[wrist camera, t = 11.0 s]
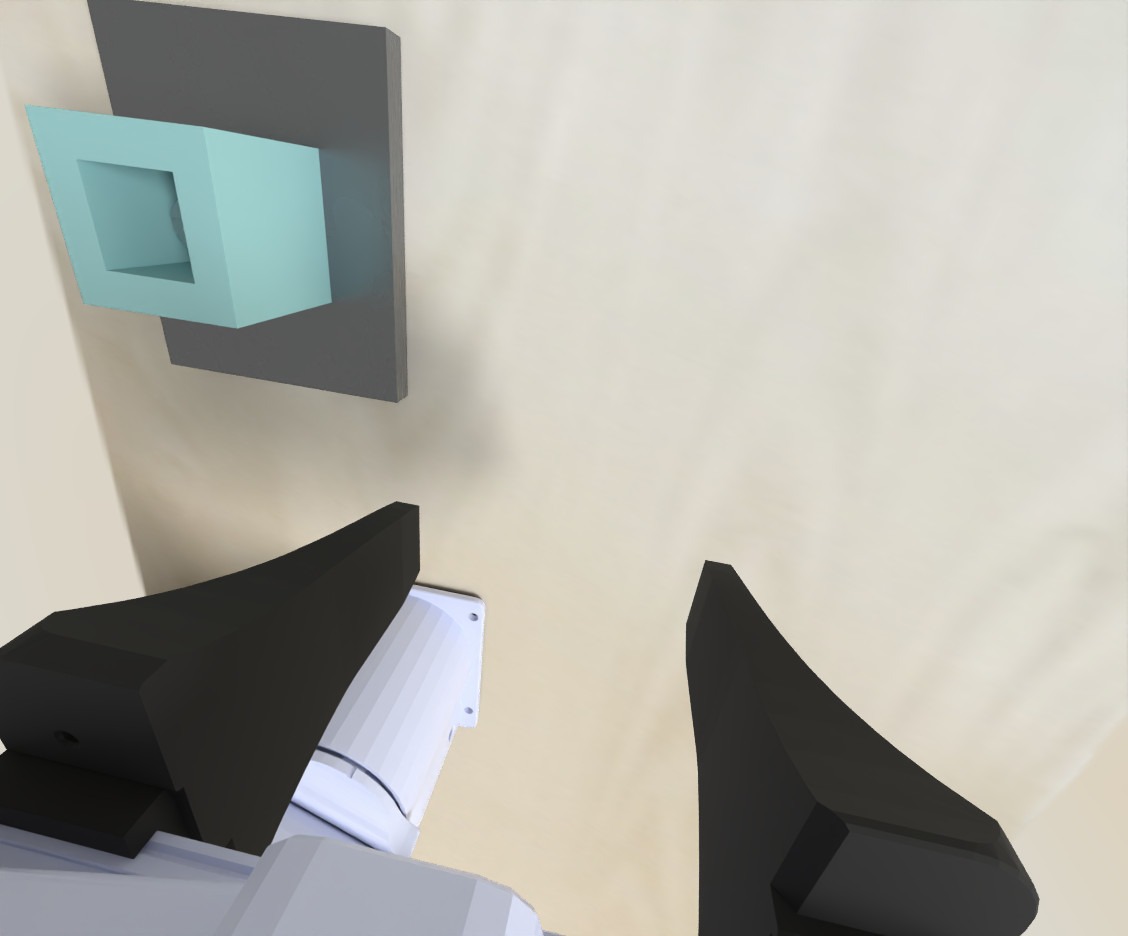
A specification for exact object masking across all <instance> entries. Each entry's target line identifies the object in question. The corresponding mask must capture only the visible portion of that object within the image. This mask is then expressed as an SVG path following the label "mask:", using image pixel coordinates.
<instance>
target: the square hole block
mask: <svg viewBox="0 0 1128 936" xmlns="http://www.w3.org/2000/svg"><path fill="white" fill-rule="evenodd" d="M25 109H26V112H27V115H28V119H29V122H30V125H31V129H32V132H33V135H34V139H35V142H36V146H37V149H38V152H39V156H40V159H41V162H42V166H43V169H44V172H45V176H46V179H47V182H48V186H49V189H50V192H51V196H52V199H53V203H54V206H55V209H56V213H57V216H58V219H59V223H60V226H61V229H62V233H63V236H64V239H65V243H66V246H67V250H68V253H69V256H70V260H71V263H72V266H73V270H74V273H75V276H76V280H77V283H78V286H79V290H80V293H81V296H82V300H83V303H84V304H87V305H93V306H100V307H106V308H112V309H118V310H125V311H131V312H137V313H143V314H150V315H156V316H162V317H168V318H175V319H181V320H187V321H193V322H200V323H206V324H212V325H218V326H225V327H231V328H237V329H238V328H241V327H245V326H248V325H252V324H256V323H259V322H263V321H266V320H270V319H274V318H277V317H281V316H284V315H288V314H292V313H295V312H299V311H302V310H306V309H310V308H313V307H317V306H320V305H324V304H328V303H331V302H332V300H331V289H330V277H329V266H328V254H327V243H326V231H325V220H324V208H323V197H322V185H321V174H320V162H319V151H318V148H312V147H307V146H302V145H297V144H291V143H286V142H281V141H275V140H270V139H265V138H260V137H254V136H249V135H244V134H239V133H233V132H228V131H223V130H217V129H212V128H207V127H201V126H193V125H185V124H177V123H169V122H161V121H153V120H144V119H136V118H128V117H120V116H112V115H104V114H96V113H88V112H80V111H72V110H64V109H56V108H48V107H40V106H31V105H25ZM177 200H178V202H179V207H180V212H181V217H182V222H183V227H184V232H185V237H186V242H187V247H188V248H187V247H186V246H185V245H184V244H183V243H182V242H181V241H180V239H179V238H178V236H177V235H176V233H175V231H174V228H173V225H172V221H171V211H172V207H173V205H174V203H175V202H176V201H177Z"/></svg>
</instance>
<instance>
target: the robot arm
mask: <svg viewBox="0 0 1128 936" xmlns="http://www.w3.org/2000/svg"><path fill="white" fill-rule="evenodd" d="M419 571H420V534H419V506H418V505H413V504H407V503H402V502H397V501H396V502H394V503H392V504H389V505H387V506H385V507H383V508H381V509H379V510H377V511H375V512H373V513H371V514H369V515H367V516H365V517H363V518H361V519H360V520H358V521H356V522H354V523H352V524H350V525H348V526H346V527H344V528H342V529H340V530H338V531H336V532H334V533H332V534H330V535H328V536H326V537H323V538H321V539H319V540H317V541H314V542H312V543H310V544H308V545H306V546H303V547H301V548H299V549H297V550H295V551H292V552H290V553H288V554H285V555H283V556H280V557H278V558H275V559H273V560H270V561H268V562H265V563H262V564H259V565H256V566H254V567H251V568H248V569H245V570H242V571H239V572H236V573H233V574H230V575H226V576H223V577H219V578H216V579H212V580H209V581H206V582H202V583H199V584H195V585H192V586H188V587H184V588H180V589H176V590H172V591H168V592H164V593H159V594H154V595H150V596H145V597H141V598H136V599H131V600H126V601H120V602H114V603H108V604H102V605H96V606H90V607H84V608H78V609H72V610H65V611H58V612H54V613H52V614H51V615H49V616H47V617H46V618H45V619H43V620H41V621H40V622H38V623H37V624H35V625H34V626H32V627H31V628H29V629H28V630H26V631H25V632H23V633H22V634H20V635H19V636H17V637H16V638H14V639H13V640H11V641H10V642H9V643H7V644H6V645H4V646H3V647H1V648H0V739H1V741H2V743H3V744H4V746H5V747H6V749H7V750H6V751H5V752H3V753H2V754H1V755H0V936H564V935H560V934H556V933H553V932H549V931H545V930H542V928H541V925H540V922H539V918H538V915H537V913H536V912H535V910H534V908H533V906H531V905H530V904H529V903H528V902H527V901H525V900H524V899H523V898H522V897H521V896H520V895H518V894H517V893H516V892H515V891H514V890H512V889H511V888H509V887H507V886H504V885H502V884H499V883H497V882H494V881H492V880H489V879H487V878H484V877H482V876H479V875H475V874H472V873H468V872H464V871H460V870H456V869H452V868H448V867H444V866H440V865H436V864H432V863H428V862H424V861H420V860H416V859H412V858H410V857H411V854H412V852H413V849H414V846H415V844H416V841H417V839H418V836H419V833H420V829H419V828H418V826H419V824H420V822H421V820H422V817H423V815H424V812H425V810H426V807H427V805H428V802H429V799H430V797H431V794H432V792H433V789H434V786H435V784H436V781H437V779H438V776H439V773H440V771H441V768H442V766H443V763H444V760H445V758H446V755H447V753H448V750H449V747H450V745H451V742H452V740H453V737H454V734H455V732H456V729H457V727H458V725H459V726H464V727H469V728H471V727H474V726H476V724H477V721H478V713H479V697H480V682H481V666H482V651H483V635H484V619H485V604H484V602H483V601H482V600H481V599H479V598H476V597H472V596H467V595H462V594H457V593H452V592H447V591H442V590H437V589H433V588H428V587H423V586H418V585H413V584H414V582H415V580H416V578H417V575H418V573H419ZM472 613H474V614H476V615H477V616H475V615H473V614H472ZM686 668H687V677H688V686H689V695H690V703H691V711H692V719H693V727H694V735H695V744H696V752H697V765H698V795H699V932H698V936H1020V935H1021V934H1022V933H1023V932H1025V930H1026V929H1027V928H1028V927H1029V925H1030V924H1031V923H1032V921H1033V920H1034V919H1035V917H1036V915H1037V912H1038V905H1039V897H1038V894H1037V892H1036V889H1035V887H1034V884H1033V883H1032V881H1031V879H1030V877H1029V875H1028V874H1027V872H1026V870H1025V868H1024V866H1023V865H1022V863H1021V861H1020V860H1019V858H1018V856H1017V854H1016V852H1015V850H1014V849H1013V847H1012V845H1011V843H1010V842H1009V840H1008V838H1007V836H1006V835H1005V833H1004V831H1003V830H1002V828H1001V827H1000V825H999V823H998V822H997V821H996V820H995V819H993V818H992V817H991V816H989V815H988V814H986V813H985V812H983V811H982V810H980V809H979V808H978V807H976V806H975V805H973V804H972V803H970V802H969V801H967V800H966V799H964V798H963V797H962V796H960V795H959V794H957V793H956V792H954V791H953V790H951V789H950V788H949V787H947V786H946V785H944V784H943V783H941V782H940V781H938V780H937V779H936V778H934V777H933V776H932V775H930V774H929V773H928V772H926V771H925V770H924V769H922V768H921V767H920V766H919V765H917V764H916V763H915V762H913V761H912V760H911V759H909V758H908V757H907V756H906V755H904V754H903V753H902V752H900V751H899V750H898V749H897V748H895V747H894V746H893V745H892V744H891V743H889V742H888V741H887V740H886V739H884V738H883V737H882V736H881V735H880V734H878V733H877V732H876V731H875V730H874V729H873V728H872V727H870V726H869V725H868V724H867V723H866V722H865V721H864V720H862V719H861V718H860V717H859V716H858V715H857V714H856V713H855V712H853V711H852V710H851V709H850V708H849V707H848V706H847V705H846V704H845V703H844V702H843V701H842V700H841V699H840V698H838V697H837V696H836V695H835V694H834V693H833V692H832V691H831V690H830V688H829V687H828V686H827V685H826V684H825V683H824V682H823V681H822V680H821V679H820V678H819V677H818V676H817V675H816V674H815V673H814V672H813V671H812V670H811V669H810V668H809V667H808V666H807V664H806V663H805V662H804V661H803V660H802V659H801V658H800V656H799V655H798V654H797V653H796V652H795V651H794V649H793V648H792V647H791V646H790V645H789V643H788V642H787V641H786V640H785V639H784V637H783V636H782V635H781V634H780V632H779V631H778V630H777V629H776V627H775V626H774V625H773V623H772V622H771V621H770V619H769V618H768V617H767V615H766V614H765V613H764V611H763V610H762V609H761V607H760V606H759V604H758V603H757V602H756V600H755V599H754V597H753V596H752V595H751V593H750V592H749V590H748V589H747V587H746V586H745V584H744V583H743V581H742V580H741V579H740V577H739V576H738V574H737V573H736V571H735V570H734V568H733V567H732V566H731V565H729V564H723V563H718V562H713V561H708V560H705V563H704V566H703V570H702V573H701V576H700V580H699V583H698V586H697V590H696V593H695V596H694V600H693V603H692V606H691V610H690V613H689V616H688V620H687V623H686Z"/></svg>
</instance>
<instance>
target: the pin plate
mask: <svg viewBox="0 0 1128 936" xmlns="http://www.w3.org/2000/svg"><path fill="white" fill-rule="evenodd" d="M87 2H88V7H89V11H90V15H91V20H92V24H93V28H94V33H95V37H96V41H97V46H98V50H99V54H100V58H101V63H102V67H103V71H104V76H105V80H106V84H107V89H108V93H109V97H110V102H111V106H112V110H113V114H114V116H120V117H128V118H136V119H144V120H153V121H161V122H169V123H177V124H185V125H193V126H201V127H207V128H212V129H217V130H223V131H228V132H233V133H239V134H244V135H249V136H254V137H260V138H265V139H270V140H275V141H281V142H286V143H291V144H297V145H302V146H307V147H312V148H318V151H319V162H320V174H321V185H322V197H323V208H324V220H325V231H326V243H327V254H328V266H329V277H330V289H331V300H332V302H331V303H328V304H324V305H320V306H317V307H313V308H310V309H306V310H302V311H299V312H295V313H292V314H288V315H284V316H281V317H277V318H274V319H270V320H266V321H263V322H259V323H256V324H252V325H248V326H245V327H241V328H238V329H237V328H231V327H225V326H218V325H212V324H206V323H200V322H193V321H187V320H181V319H175V318H168V317H162V316H160V317H161V321H162V326H163V330H164V334H165V338H166V343H167V347H168V351H169V356H170V360H171V364H175V365H181V366H187V367H193V368H198V369H204V370H210V371H216V372H221V373H227V374H233V375H239V376H245V377H250V378H256V379H262V380H268V381H274V382H279V383H285V384H291V385H297V386H303V387H308V388H314V389H320V390H326V391H332V392H337V393H343V394H349V395H355V396H361V397H366V398H372V399H378V400H384V401H390V402H395V403H397V402H399V401H400V400H402V399H403V398H404V397H406V396H407V395H408V394H407V345H406V296H405V247H404V199H403V150H402V101H401V52H400V37H399V36H397V35H396V34H394V33H393V32H392V31H390V30H389V29H387V28H386V27H377V26H367V25H358V24H349V23H339V22H330V21H321V20H311V19H302V18H293V17H283V16H274V15H265V14H255V13H246V12H237V11H227V10H218V9H209V8H199V7H190V6H181V5H171V4H162V3H153V2H143V1H134V0H87ZM171 221H172V225H173V228H174V231H175V233H176V235H177V236H178V238H179V239H180V241H181V242H182V243H183V244H184V245H185V246H186V247H187V242H186V237H185V232H184V227H183V222H182V217H181V212H180V207H179V202H178V200H177V201H176V202H175V203H174V205H173V207H172V211H171ZM187 248H188V247H187Z"/></svg>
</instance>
